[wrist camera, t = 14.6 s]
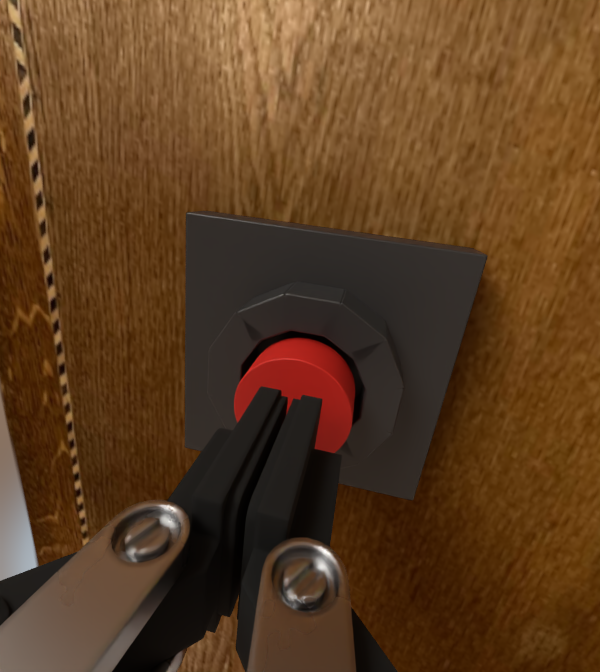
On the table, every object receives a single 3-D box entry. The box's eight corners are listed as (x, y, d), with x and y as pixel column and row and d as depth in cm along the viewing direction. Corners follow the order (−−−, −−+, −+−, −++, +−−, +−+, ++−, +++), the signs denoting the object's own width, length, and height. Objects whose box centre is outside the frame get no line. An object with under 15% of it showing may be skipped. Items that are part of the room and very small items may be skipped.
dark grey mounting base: (201, 426, 18) (162, 475, 15) (206, 210, 14) (156, 213, 11) (409, 473, 16) (418, 539, 13) (474, 248, 13) (508, 264, 10)
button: (247, 419, 13) (230, 450, 12) (255, 328, 12) (236, 347, 10) (345, 441, 13) (341, 475, 11) (364, 348, 12) (363, 371, 10)
